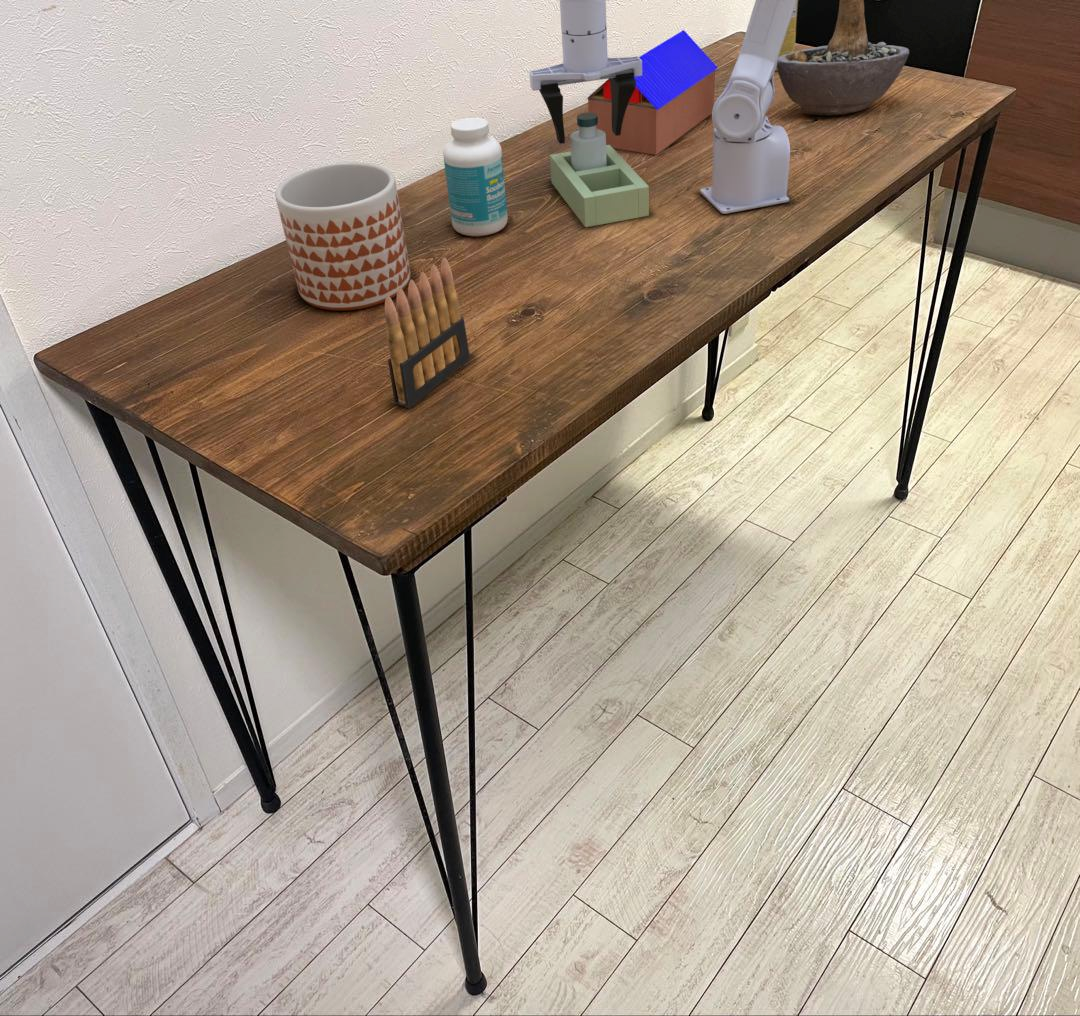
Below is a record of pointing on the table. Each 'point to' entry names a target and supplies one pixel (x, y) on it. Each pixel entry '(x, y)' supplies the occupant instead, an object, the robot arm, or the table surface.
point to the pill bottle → (475, 179)
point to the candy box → (790, 35)
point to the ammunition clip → (425, 336)
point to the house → (661, 97)
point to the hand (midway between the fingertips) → (588, 137)
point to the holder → (601, 189)
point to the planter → (841, 68)
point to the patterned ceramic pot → (344, 234)
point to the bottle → (588, 144)
